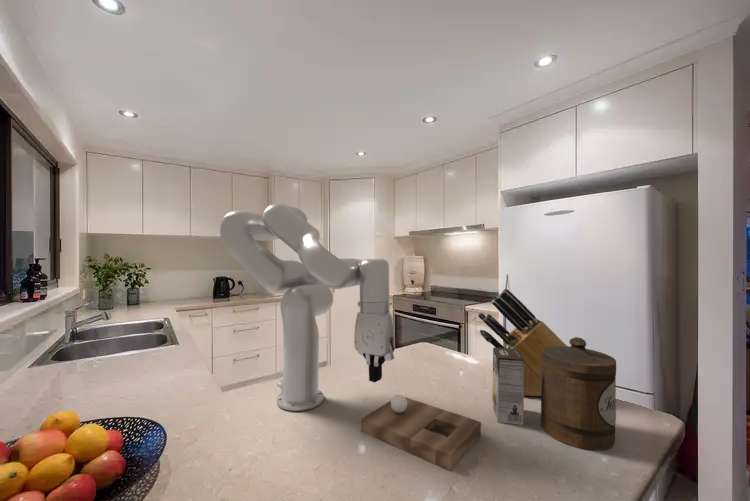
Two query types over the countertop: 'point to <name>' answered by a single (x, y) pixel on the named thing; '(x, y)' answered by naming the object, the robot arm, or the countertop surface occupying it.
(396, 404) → the ball
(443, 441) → the board
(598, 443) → the wooden container
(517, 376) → the coffee box
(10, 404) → the countertop surface
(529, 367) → the knife block
